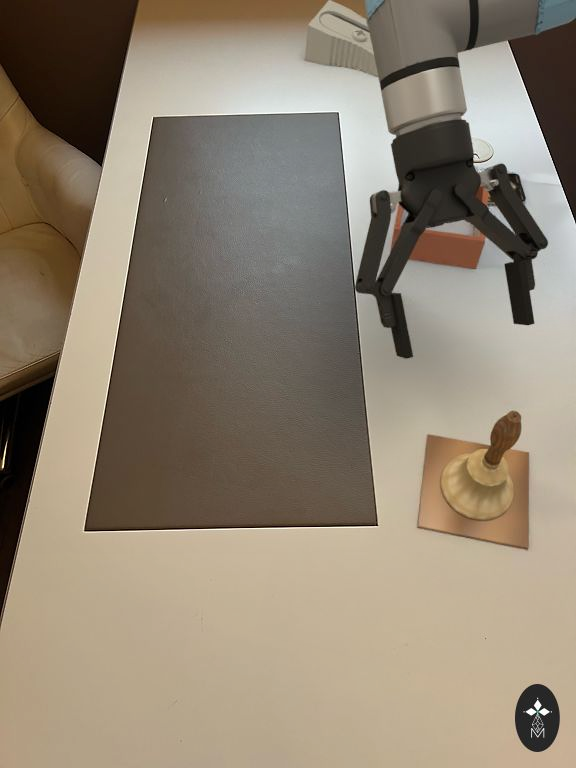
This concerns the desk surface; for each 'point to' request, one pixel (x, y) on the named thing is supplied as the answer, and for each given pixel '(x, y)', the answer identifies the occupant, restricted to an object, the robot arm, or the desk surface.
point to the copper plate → (445, 519)
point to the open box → (446, 243)
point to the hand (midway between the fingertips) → (465, 340)
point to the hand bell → (483, 475)
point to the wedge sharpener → (340, 39)
